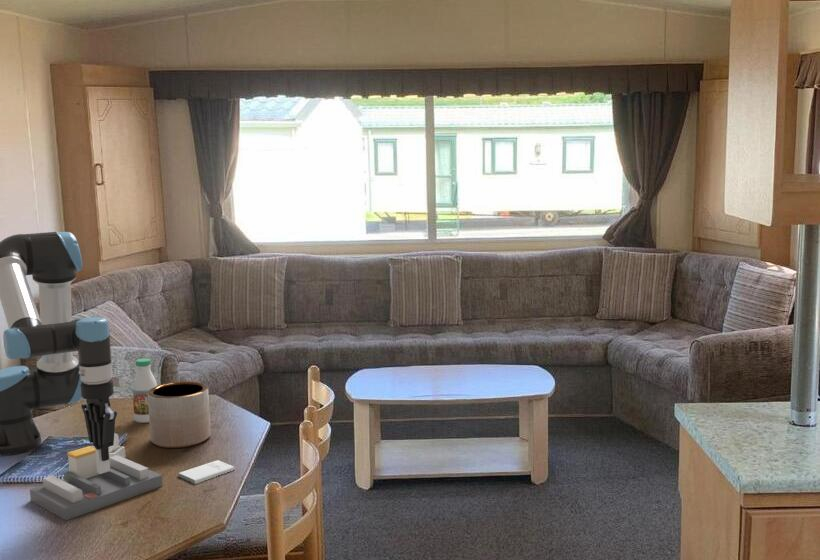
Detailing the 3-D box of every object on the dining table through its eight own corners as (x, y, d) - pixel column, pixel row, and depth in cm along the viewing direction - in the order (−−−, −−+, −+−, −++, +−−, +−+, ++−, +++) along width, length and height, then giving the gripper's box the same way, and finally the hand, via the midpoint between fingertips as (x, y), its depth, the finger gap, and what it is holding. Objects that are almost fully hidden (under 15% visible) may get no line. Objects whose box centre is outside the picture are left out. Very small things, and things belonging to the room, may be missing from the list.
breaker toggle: (69, 477, 214) (67, 452, 212) (91, 470, 218) (90, 445, 217) (77, 481, 211) (75, 456, 210) (100, 474, 215) (98, 449, 214)
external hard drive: (178, 478, 222) (217, 464, 231) (195, 486, 216) (234, 471, 225) (177, 472, 221) (216, 459, 230) (195, 480, 216) (234, 466, 225)
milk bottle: (134, 417, 272) (130, 358, 269) (159, 414, 274) (155, 356, 271) (134, 424, 265) (130, 363, 262) (159, 421, 267) (155, 361, 264)
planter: (215, 444, 245) (212, 393, 243) (153, 453, 239) (149, 400, 237) (206, 426, 262) (204, 378, 259) (148, 434, 255) (145, 385, 253)
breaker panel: (30, 500, 207) (28, 480, 206) (125, 469, 227) (123, 450, 226) (66, 520, 196) (64, 498, 195) (162, 486, 215) (161, 466, 214)
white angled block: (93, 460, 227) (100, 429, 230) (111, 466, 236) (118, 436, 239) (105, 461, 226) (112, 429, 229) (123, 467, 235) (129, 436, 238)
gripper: (68, 379, 205) (76, 470, 209) (95, 388, 197) (103, 482, 200) (97, 373, 211) (104, 461, 214) (124, 381, 203) (131, 473, 206)
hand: (103, 471), depth 207 cm, fingers closed
